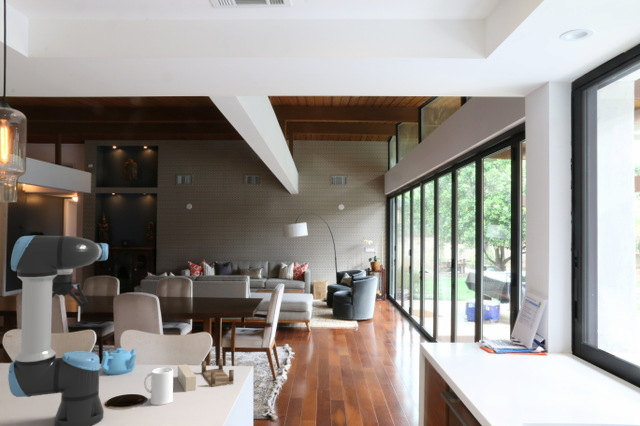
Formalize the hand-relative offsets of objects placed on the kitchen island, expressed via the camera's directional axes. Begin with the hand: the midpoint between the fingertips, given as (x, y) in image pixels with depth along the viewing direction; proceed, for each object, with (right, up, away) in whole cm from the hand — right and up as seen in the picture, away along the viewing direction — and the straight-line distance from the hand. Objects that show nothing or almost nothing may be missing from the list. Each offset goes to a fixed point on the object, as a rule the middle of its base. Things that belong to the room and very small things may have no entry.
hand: (61, 322), depth 195 cm
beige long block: (+55, -27, 0) cm, 61 cm away
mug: (+50, -26, -20) cm, 60 cm away
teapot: (+17, -28, +18) cm, 38 cm away
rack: (+66, -28, +8) cm, 72 cm away
